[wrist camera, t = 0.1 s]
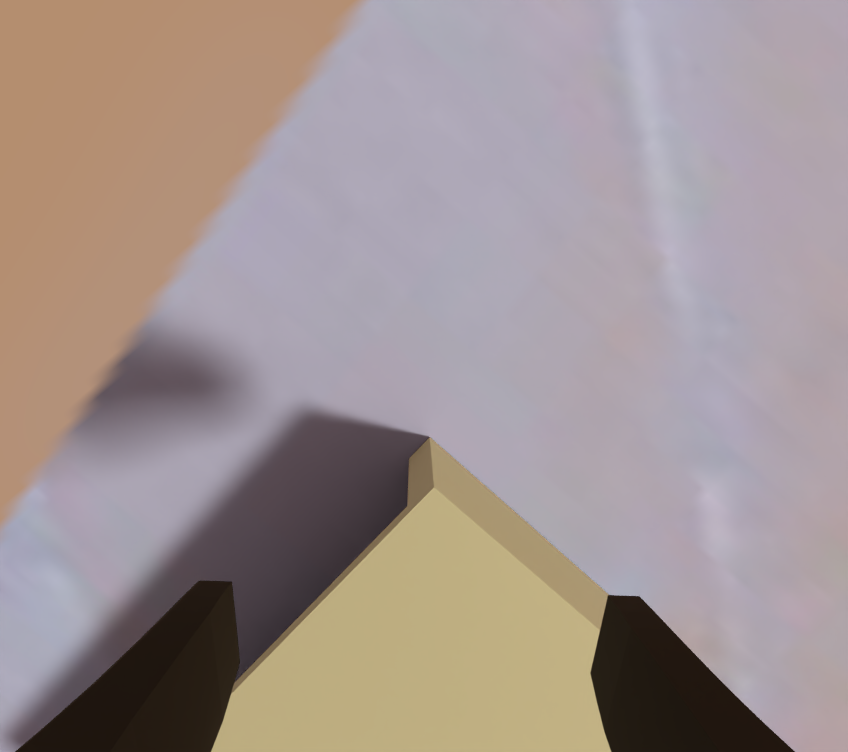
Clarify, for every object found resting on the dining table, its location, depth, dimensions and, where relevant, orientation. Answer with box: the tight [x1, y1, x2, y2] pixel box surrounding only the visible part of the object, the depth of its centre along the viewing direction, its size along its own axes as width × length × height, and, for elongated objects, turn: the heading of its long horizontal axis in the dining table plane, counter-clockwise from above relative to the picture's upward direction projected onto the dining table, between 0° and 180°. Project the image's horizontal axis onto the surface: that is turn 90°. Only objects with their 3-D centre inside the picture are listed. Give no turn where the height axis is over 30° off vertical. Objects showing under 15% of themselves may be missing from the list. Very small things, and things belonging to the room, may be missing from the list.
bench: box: [211, 437, 611, 752], centre depth 20 cm, size 20×11×5 cm, turn 137°
